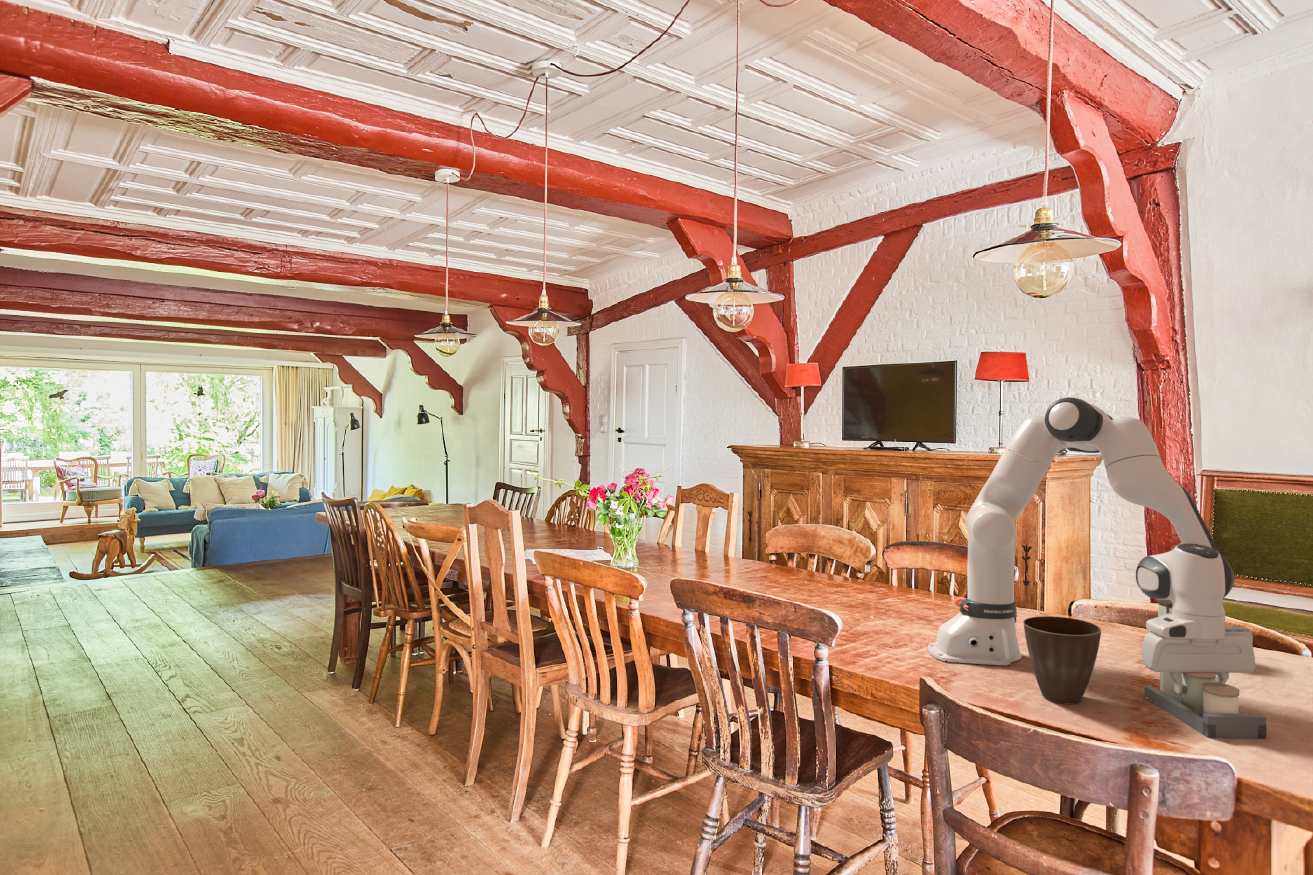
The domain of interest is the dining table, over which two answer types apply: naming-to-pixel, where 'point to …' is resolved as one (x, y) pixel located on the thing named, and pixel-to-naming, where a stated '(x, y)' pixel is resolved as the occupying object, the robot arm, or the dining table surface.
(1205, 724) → the tray
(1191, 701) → the sage jar
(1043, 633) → the plant pot
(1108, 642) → the dining table surface
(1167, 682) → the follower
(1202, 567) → the robot arm
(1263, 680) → the dining table surface
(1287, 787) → the dining table surface
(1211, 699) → the cream jar
